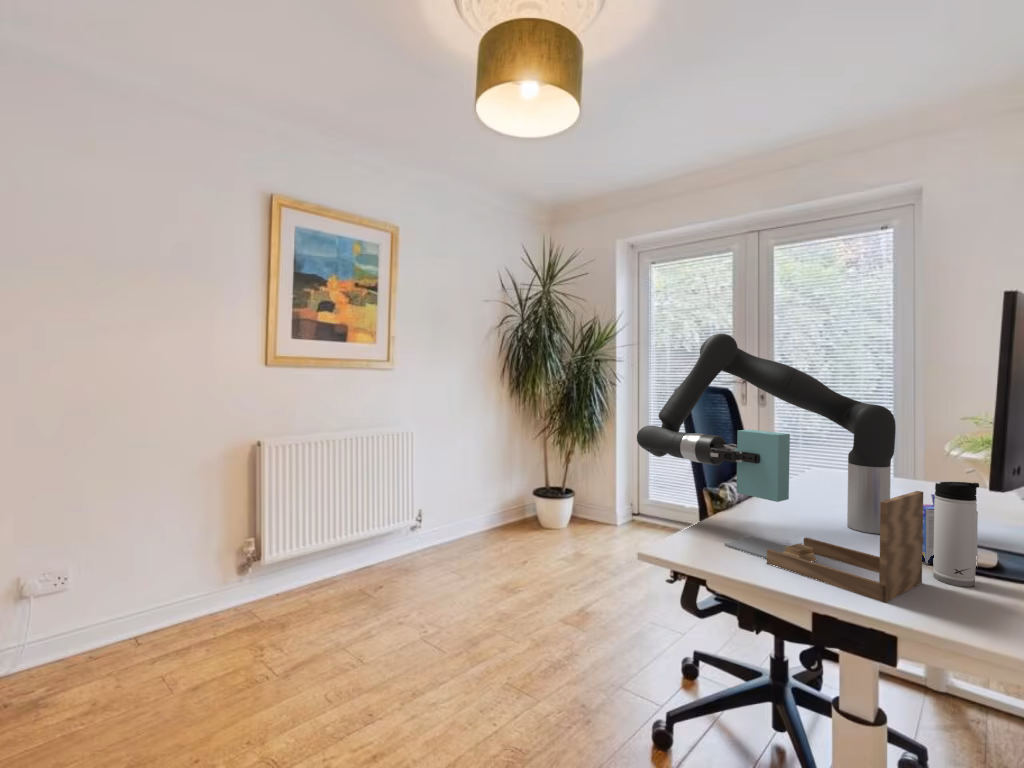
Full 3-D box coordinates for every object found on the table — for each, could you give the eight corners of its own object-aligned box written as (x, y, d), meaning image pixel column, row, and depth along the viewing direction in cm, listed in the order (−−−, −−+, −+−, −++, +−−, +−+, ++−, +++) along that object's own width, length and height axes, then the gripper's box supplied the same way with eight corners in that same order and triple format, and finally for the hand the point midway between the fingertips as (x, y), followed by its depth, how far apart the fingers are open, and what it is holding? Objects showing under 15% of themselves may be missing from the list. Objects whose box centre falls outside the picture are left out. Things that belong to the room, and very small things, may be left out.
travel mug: (968, 590, 95) (970, 485, 95) (926, 578, 101) (928, 478, 100) (983, 584, 98) (985, 482, 97) (942, 572, 104) (943, 476, 103)
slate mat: (751, 537, 125) (751, 535, 125) (800, 552, 115) (800, 550, 115) (724, 545, 120) (724, 543, 120) (773, 561, 109) (773, 559, 109)
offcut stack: (798, 556, 114) (799, 542, 114) (816, 561, 110) (816, 548, 110) (781, 560, 111) (781, 546, 111) (798, 566, 107) (798, 552, 107)
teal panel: (747, 490, 123) (748, 429, 122) (788, 499, 114) (789, 433, 114) (736, 492, 120) (737, 430, 120) (777, 501, 112) (778, 435, 112)
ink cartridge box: (961, 559, 111) (962, 494, 111) (979, 569, 106) (980, 500, 105) (911, 556, 113) (912, 492, 113) (926, 565, 108) (927, 498, 107)
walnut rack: (806, 550, 117) (807, 473, 116) (921, 583, 98) (923, 491, 98) (766, 563, 108) (767, 480, 108) (885, 602, 89) (886, 502, 89)
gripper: (685, 435, 127) (747, 444, 113) (720, 432, 135) (783, 440, 120) (684, 465, 127) (747, 477, 113) (719, 460, 135) (782, 471, 120)
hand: (765, 458), depth 117 cm, fingers closed on teal panel, 4 cm apart
